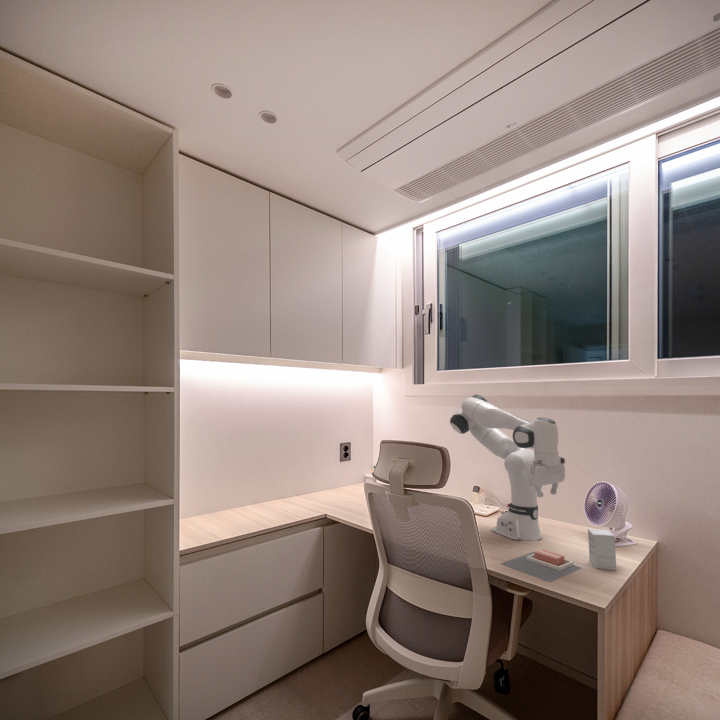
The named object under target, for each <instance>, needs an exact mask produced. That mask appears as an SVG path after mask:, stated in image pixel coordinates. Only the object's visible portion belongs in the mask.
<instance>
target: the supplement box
mask: <svg viewBox="0 0 720 720" xmlns="http://www.w3.org/2000/svg"><path fill="white" fill-rule="evenodd" d="M587 536H588V537H587V539H588V556H589V557H588V558H589V562H590V564H592V566H593V567H594V568H595V569H602V570H614V571H617V556H616V554H617V553H616V539H615V537H616V536H615V535H614V534H613V533H612V532H611V531H609V530H608V529H596V528H595V529H594V528H588V529H587Z"/></svg>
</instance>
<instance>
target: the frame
mask: <svg viewBox="0 0 720 720" xmlns="http://www.w3.org/2000/svg"><path fill="white" fill-rule="evenodd" d="M526 560H529V561H532V562H535V563H538V564H540V565H543V566H546V567H549V568H552V569H555V570H558V571H561V570H563V569H565V568H568V567H570V566H572V565H574V561H572V560H569V559H566V558H564V560H565V563H566V564H563V565H561V566H559V567H558V566H555V565H552V564H549V563H546V562H543V561H540V560H537V559H535V556H534V554H532V555H529V556H526Z"/></svg>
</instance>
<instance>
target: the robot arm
mask: <svg viewBox="0 0 720 720" xmlns="http://www.w3.org/2000/svg"><path fill="white" fill-rule="evenodd" d="M449 423H450V426H451V427H452V429H453V430H454V432H457V433H458V434H467V433H468V432H470V434H471V435H472V436H473V437H474V438H475V440H477V441H478V442H479V443H480V444H481V445H482V446H483V447H485V449H487V450H488V451H490V453H492V454H493V455H494V456H496V457H499V458H500V459H503V460H504V462H503V463H504V464H503V465H504V468H505V470H506V471H507V474H508V479H509V483H510V493H511V494H510V497H511V500H510V501H511V502H510V503H508V504H506V508H508V510H507V511H505V512H504V513H502V514H501V515H500V516H498V517H497V519H496V525H494V526H493V527H492V528H491V531H492V532H493V533H497V534H498V535H501V536H503V537H506V538H508V539H511V540H515V541H516V540H517V541H519V540H522V541H523V540H524V541H540V540H541V539H542V538H543V536H542V533H541V530H540V525H539V506H538V501H537V497H538V498H543V497H544V492H542V488H543V487H542V486H548V485H551V489H550V490H549V491H550V495H557V490H558V486H559V483H563V482H564V481H565V480H566V479H565V478H566V475H565V474H566V470H565V469H566V467H565V466H566V465H565V464H566V458H565V457H562V456H561V455H559V454H560V453H559V449H558V445H559V430H558V425H557V422H556V421H555V420H553V419H551V418H547V417H537V418H535V419H534V420H532V421H529V420H526V419H524V418H522V417H519V416H516V415H515V414H512V413H509V412H508V411H505V410H504V409H501V408H499V407H497V406H496V405H493V404H492V403H489V401H488V400H487V399H486V398H485V397H484V396H482V395H481V394H474V395H472V396H471V397H467V398H465V399H464V400H463V401H462V404H461V406H460V407H459V408H458V410H457V411H456V412H454V414H452V415H451V417H450V419H449ZM501 429H506V430H511V431H513V432H512V438H511V437H510V436H509V435H507V434H506V433H504V432H503V431H502V430H501ZM532 449H533V450H532Z"/></svg>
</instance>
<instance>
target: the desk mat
mask: <svg viewBox="0 0 720 720" xmlns="http://www.w3.org/2000/svg"><path fill="white" fill-rule="evenodd" d="M534 552H535V551H533V552H532V551H531V552H529V553H527V554H524V555H521V556H518V557H516V558H513V559H510V560H507V561H504V562H501V563H500V565H503V566H505V567H508V568H510V569H513V570H516V571H518V572H521V573H524V574H526V575H529V576H531V577H533V578H537V579H540V580H542V581H545V582H547V583H551V582H554V581H556V580H558V579H560V578H562V577H566V576H568V575H569V574H572V573H574V572H576V571H579V570H582V567H581V566H577V565H572V566H570V567H568V568H565V569H563V570H561V571H558V570H555V569H552V568H549V567H546V566H543V565H540V564H538V563H535V562H532V561H529V560H526V556H529V555H532V554H534ZM565 564H566V563H565Z"/></svg>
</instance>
